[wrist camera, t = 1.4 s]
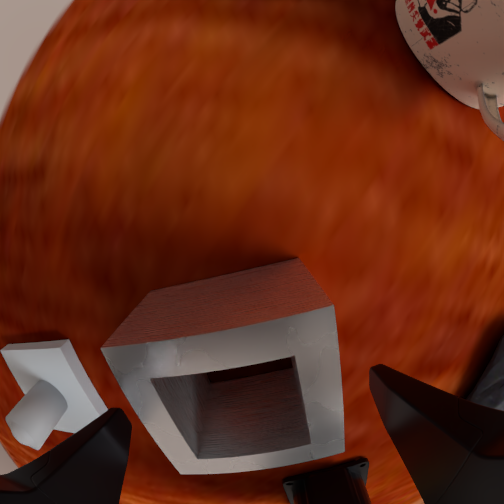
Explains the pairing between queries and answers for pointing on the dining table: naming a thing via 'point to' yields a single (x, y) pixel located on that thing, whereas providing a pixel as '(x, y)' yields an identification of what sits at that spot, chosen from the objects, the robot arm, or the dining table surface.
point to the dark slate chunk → (491, 382)
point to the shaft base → (59, 375)
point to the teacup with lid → (460, 49)
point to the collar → (232, 356)
